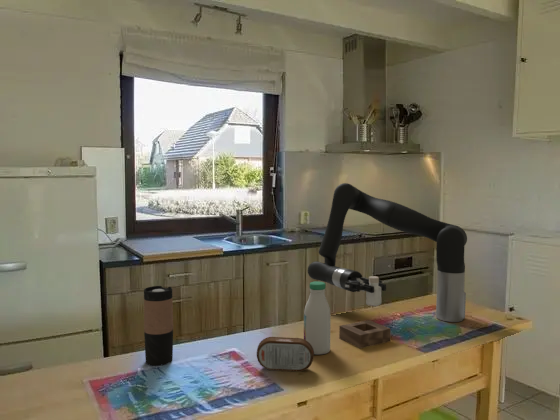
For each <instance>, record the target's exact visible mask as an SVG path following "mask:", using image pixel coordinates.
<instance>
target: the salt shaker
mask: <svg viewBox="0 0 560 420" xmlns="http://www.w3.org/2000/svg"><path fill="white" fill-rule="evenodd" d="M368 278H369V285H371V286H374V293H370V292H367V291H365V292H366V293H365V298H366V299H365V300H366V301H365V302H366V303H365V304H366V305H367V306H370V307H378V306H380V305H382V290H381V287H380V286H378V283H379V280H380V277H379V276H376V275H375V276H374V275H372V276H371V275H370V276H368Z"/></svg>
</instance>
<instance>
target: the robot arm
mask: <svg viewBox="0 0 560 420" xmlns="http://www.w3.org/2000/svg"><path fill="white" fill-rule="evenodd" d="M349 210H351V211H355V212H359V213H362V214H365V215H367V216H369V217H371V218H372V219H373V220H376V221H378V222H379V223H382V224H383V225H385V226H387V227H390V228H392V229H394V230H397V231H400V232H403V233H407V234H411V235H417V236H420V237H424V238H427V239H430V240H432V241H433V242H435V243H436V252H435V253H436V265H437V267H436V268H437V271H436V274H437V275H436V301H435V302H436V305H435V308H436V309H435V318H436V319H438V320H440V321H444V322H450V323H451V322H452V323H458V322H463V321H464V319H466V299H467V297H466V296H467V293H466V292H465V279H466V278H465V277H466V276H465V275H466V263H465V246H466V244H467V242H468V236H467V233H466V230H464V229H463V228H462V227H460V226H459V225H455V224H450V223H447V222H443V221H440V220H437V219H434V218H431V217H430V216H427V215H425V214H424V213H421V212H420V211H417V210H415V209H412V208H410V207H408V206H405V205H402V204H400V203H397V202H395V201H392V200H387V199H382V198H377V197H374V196H373V195H369V194H368V193H366V192H363V191H362V190H360V189H359V188H357V187H356V186H354V185H352V184H350V183H348V182H344V183H343V182H342V183H340V184H338V185H337V186H336V188H335V189H334V192H333V195H332V201H331V207H330V214H329V217H328V222H327V224H326V228H325V231H324V234H323V237H322V239H321V244H320V246H319V250H318V254H319V256H321V257H323V258H324V262H320V261H312V262H311V263H310V264H309V265H308V267H307V274H308V276H309V278H310V279H312V280H316V281H318V282H324V283H327V284H330V285H332V286H335V287H337V288H339V289H342V290H345V291H349V292H351V293H359V292H363V293H364V292H366V291H367V292H370V293H374V286H371V285H369V277H366V276H363V274H362V273H361V272H359V271H358V270H353V269H350V268H346V267H345V268H344V267H340V266H336V262H337V261H336V260H337V254H338V252H339V248H340V244H341V243H342V242H341V241H342V237H343V230H344V222H345V220H346V216H347V213H348V211H349ZM378 286H380V287H381V292H382V291H383V292H385V291H387V284H385V283H383V280H381V279H379V283H378Z"/></svg>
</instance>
